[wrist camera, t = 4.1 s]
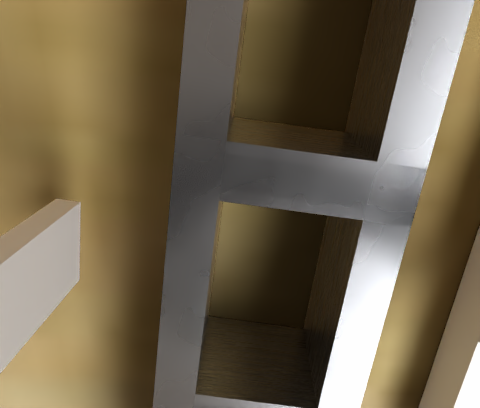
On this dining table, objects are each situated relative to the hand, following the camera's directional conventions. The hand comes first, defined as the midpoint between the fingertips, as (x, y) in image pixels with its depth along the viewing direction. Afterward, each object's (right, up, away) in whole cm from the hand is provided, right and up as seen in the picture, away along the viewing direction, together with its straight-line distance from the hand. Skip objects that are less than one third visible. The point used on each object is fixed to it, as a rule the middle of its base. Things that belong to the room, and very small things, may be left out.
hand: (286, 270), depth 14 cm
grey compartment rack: (-1, 0, +2) cm, 2 cm away
